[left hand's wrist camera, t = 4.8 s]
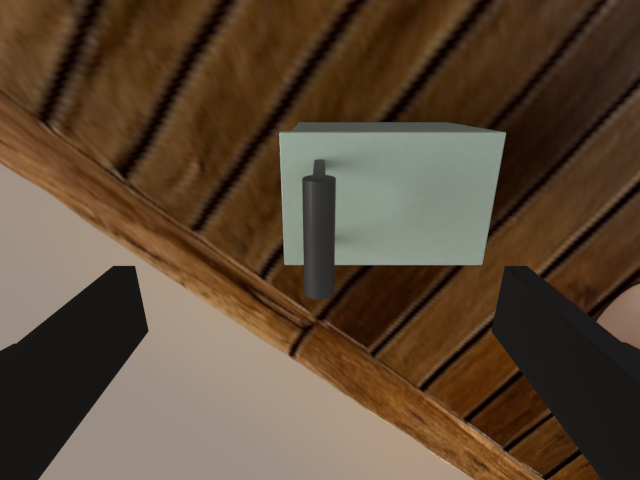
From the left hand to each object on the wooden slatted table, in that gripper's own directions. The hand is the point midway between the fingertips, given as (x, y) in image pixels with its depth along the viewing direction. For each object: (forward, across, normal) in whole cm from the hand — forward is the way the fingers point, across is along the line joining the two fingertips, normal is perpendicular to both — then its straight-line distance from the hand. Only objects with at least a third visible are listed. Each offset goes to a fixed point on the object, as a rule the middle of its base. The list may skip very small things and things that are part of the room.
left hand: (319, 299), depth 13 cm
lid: (+14, +5, 0) cm, 15 cm away
